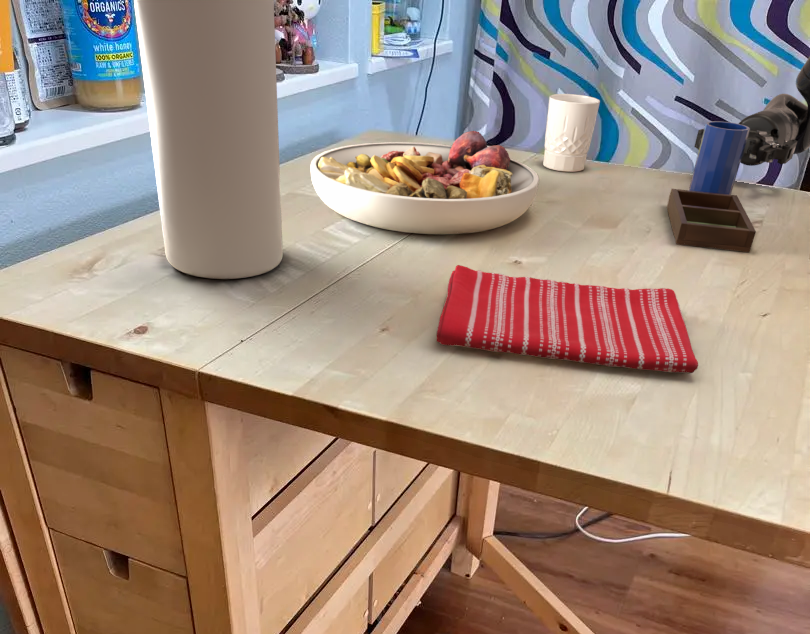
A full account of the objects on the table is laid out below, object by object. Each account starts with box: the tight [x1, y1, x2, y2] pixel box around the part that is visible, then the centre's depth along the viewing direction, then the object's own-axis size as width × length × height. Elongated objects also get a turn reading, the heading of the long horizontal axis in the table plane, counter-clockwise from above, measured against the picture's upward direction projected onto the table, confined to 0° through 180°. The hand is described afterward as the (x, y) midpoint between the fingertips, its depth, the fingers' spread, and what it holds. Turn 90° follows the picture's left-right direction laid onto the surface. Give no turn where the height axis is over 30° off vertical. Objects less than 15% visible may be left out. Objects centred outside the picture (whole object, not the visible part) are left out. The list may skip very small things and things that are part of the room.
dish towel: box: [436, 264, 699, 374], centre depth 78 cm, size 17×24×3 cm
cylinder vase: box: [133, 0, 284, 280], centre depth 81 cm, size 12×12×25 cm
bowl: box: [310, 130, 540, 235], centre depth 107 cm, size 30×30×8 cm
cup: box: [688, 120, 750, 195], centre depth 118 cm, size 6×6×10 cm
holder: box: [666, 188, 757, 253], centre depth 108 cm, size 9×17×3 cm, turn 169°
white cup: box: [542, 93, 601, 173], centre depth 129 cm, size 8×8×10 cm
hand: (730, 151), depth 121 cm, fingers open, 8 cm apart
